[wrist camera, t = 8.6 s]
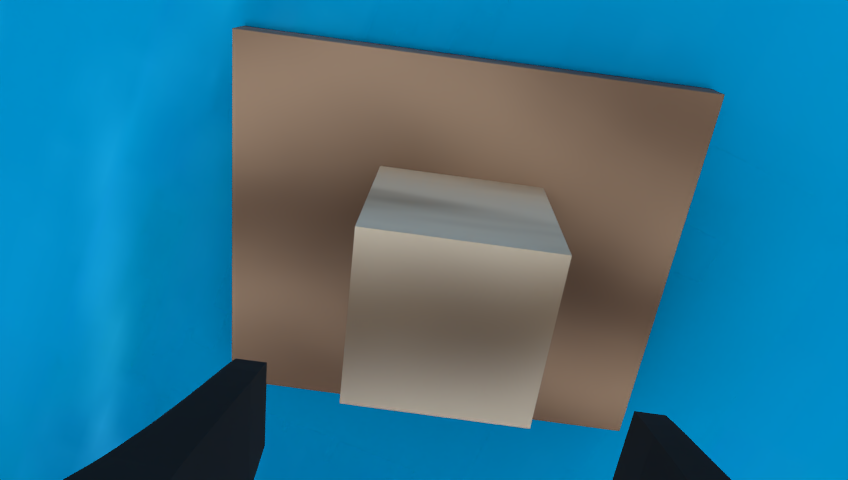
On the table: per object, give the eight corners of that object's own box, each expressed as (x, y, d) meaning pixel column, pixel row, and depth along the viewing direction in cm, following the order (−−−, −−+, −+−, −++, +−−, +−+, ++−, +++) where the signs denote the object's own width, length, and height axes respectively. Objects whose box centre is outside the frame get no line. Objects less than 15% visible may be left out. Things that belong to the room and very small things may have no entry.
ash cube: (513, 328, 21) (529, 428, 16) (365, 308, 21) (339, 403, 16) (543, 187, 19) (571, 255, 14) (380, 165, 19) (354, 226, 14)
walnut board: (612, 412, 23) (619, 430, 22) (241, 363, 23) (232, 379, 22) (710, 88, 18) (724, 94, 17) (243, 25, 18) (232, 28, 17)
